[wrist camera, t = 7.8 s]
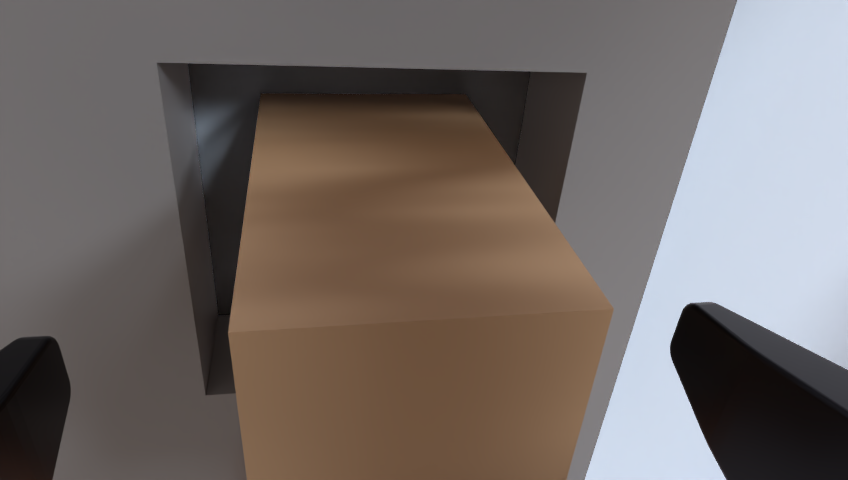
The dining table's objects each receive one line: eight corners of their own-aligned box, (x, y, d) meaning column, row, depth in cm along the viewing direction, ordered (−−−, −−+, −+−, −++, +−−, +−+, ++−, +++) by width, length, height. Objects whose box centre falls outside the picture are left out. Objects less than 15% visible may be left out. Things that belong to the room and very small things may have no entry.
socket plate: (667, -59, 12) (774, -32, 9) (539, 451, 19) (577, 547, 16) (-994, -170, 8) (-1662, -178, 5) (-343, 535, 15) (-477, 680, 12)
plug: (465, 94, 13) (614, 308, 7) (449, 260, 15) (551, 534, 9) (260, 93, 12) (228, 332, 6) (273, 268, 14) (258, 571, 8)
